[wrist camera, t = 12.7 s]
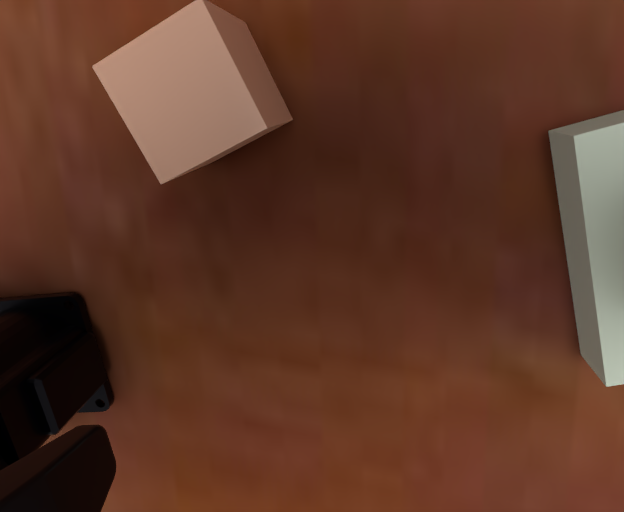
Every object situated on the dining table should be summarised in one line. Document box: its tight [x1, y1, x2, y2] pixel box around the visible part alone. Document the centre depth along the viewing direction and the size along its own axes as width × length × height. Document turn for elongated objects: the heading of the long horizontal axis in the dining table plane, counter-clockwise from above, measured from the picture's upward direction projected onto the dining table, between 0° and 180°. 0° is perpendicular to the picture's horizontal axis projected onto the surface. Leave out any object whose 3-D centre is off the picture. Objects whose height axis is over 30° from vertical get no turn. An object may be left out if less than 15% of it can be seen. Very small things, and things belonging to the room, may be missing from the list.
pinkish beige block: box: [92, 0, 293, 184], centre depth 17 cm, size 4×4×5 cm
